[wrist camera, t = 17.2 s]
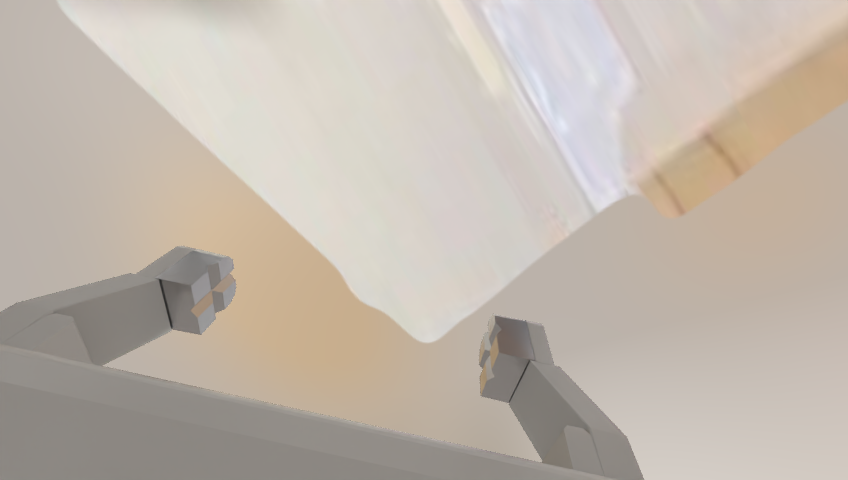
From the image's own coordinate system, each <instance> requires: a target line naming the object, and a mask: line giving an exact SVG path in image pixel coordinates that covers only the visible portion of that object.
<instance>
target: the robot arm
mask: <svg viewBox="0 0 848 480" xmlns="http://www.w3.org/2000/svg"><path fill="white" fill-rule="evenodd" d="M233 269H234V265H233V260H232V259H231V258H230V257H228V256H224V255H220V254H215V253H212V252H207V251H203V250H198V249H194V248H190V247H185V246H177V247H175V248H174V249H172V250H171V251H169V252H168V253H166V254H165V255H163V256H162V257H161V258H159V259H157V260H156V261H154V262H153V263H152V264H150V265H149V266H147V267H146V268H144V269H143V270H141V271H140V272H138V273H137V274H131V273H130V274H125V275H121V276H118V277H114V278H110V279H106V280H102V281H99V282H95V283H91V284H88V285H83V286H79V287H76V288H72V289H68V290H65V291H60V292H56V293H53V294H49V295H45V296H41V297H37V298H34V299H30V300H26V301H22V302H18V303H16V304H14V305H12V306H10V307H8V308H7V309H5V310H3V311H1V312H0V480H644V478H643V475H642V473H641V471H640V468H639V466H638V463H637V461H636V458H635V456H634V453H633V451H632V449H631V446H630V444H629V441H628V439H627V437H626V436H625V435H624V434H623V433H622V432H621V430H620V429H618V427H617V426H616V425H615V424H614V423H613V422H612V421H611V420H610V419H609V418H608V417H607V416H606V415H605V414H604V413H603V412H602V411H601V410H600V408H598V406H597V405H596V404H595V403H594V402H593V401H592V400H591V399H590V398H589V397H588V396H587V395H586V394H585V393H584V392H583V391H582V390H581V389H580V388H579V387H578V386H577V385H576V383H575V382H574V381H573V380H572V379H571V378H570V377H569V376H568V375H567V374H566V373H565V372H564V371H563V370H562V369H561V368H560V367H559V366H555V365H554V362H553V358H552V355H551V351H550V348H549V344H548V340H547V337H546V333H545V330H544V326H543V325H542V324H541V323H536V322H531V321H526V320H525V321H523V320H519V319H514V318H510V317H505V316H500V315H495V314H492V316H491V317H490V320H489V322H488V332H487V333H485V334H484V336H483V339H482V342H481V347H480V354H479V365H480V366H481V367H482V369H483V370H482V372H481V375H480V393H481V396H483V397H487V398H491V399H495V400H499V401H503V402H507V403H509V405H510V407H511V409H512V411H513V412H514V414H515V416H516V417H517V419H518V421H519V422H520V424H521V426H522V427H523V429H524V431H525V432H526V434H527V436H528V437H529V439H530V441H531V442H532V444H533V446H534V447H535V449H536V451H537V452H538V454H539V456H540V457H541V459H542V462H536V461H531V460H527V459H523V458H518V457H513V456H509V455H505V454H500V453H495V452H491V451H486V450H482V449H477V448H472V447H468V446H464V445H459V444H454V443H450V442H445V441H441V440H436V439H432V438H427V437H423V436H418V435H414V434H409V433H405V432H400V431H395V430H391V429H386V428H382V427H377V426H373V425H368V424H364V423H359V422H354V421H350V420H345V419H340V418H336V417H332V416H327V415H323V414H318V413H313V412H309V411H304V410H300V409H295V408H291V407H286V406H282V405H277V404H273V403H268V402H264V401H259V400H254V399H250V398H245V397H241V396H236V395H231V394H227V393H222V392H218V391H214V390H209V389H204V388H200V387H195V386H191V385H186V384H182V383H177V382H172V381H168V380H163V379H159V378H154V377H150V376H145V375H140V374H136V373H132V372H127V371H123V370H118V369H113V368H109V367H104V366H102V365H104V364H106V363H108V362H110V361H112V360H114V359H116V358H118V357H120V356H122V355H124V354H126V353H128V352H130V351H132V350H134V349H136V348H138V347H140V346H142V345H144V344H146V343H148V342H150V341H152V340H154V339H156V338H158V337H160V336H162V335H164V334H166V333H168V332H170V331H171V329H173V330H178V331H183V332H189V333H194V334H200V335H201V334H202V333H203V332H204V331H205V330H206V329H207V328H208V327H209V326H210V325H211V323H212V322H213V321H214V320H215V319H216V317H215V313H216V312H219V311H221V310H224V309H225V308H226V307H227V306H228V305H229V304H230V302H231V301H232V299H233V297H234V295H235V289H236V282H235V279H234V278H233V276H232V275H231V274H230V272H231V271H232V270H233Z"/></svg>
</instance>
